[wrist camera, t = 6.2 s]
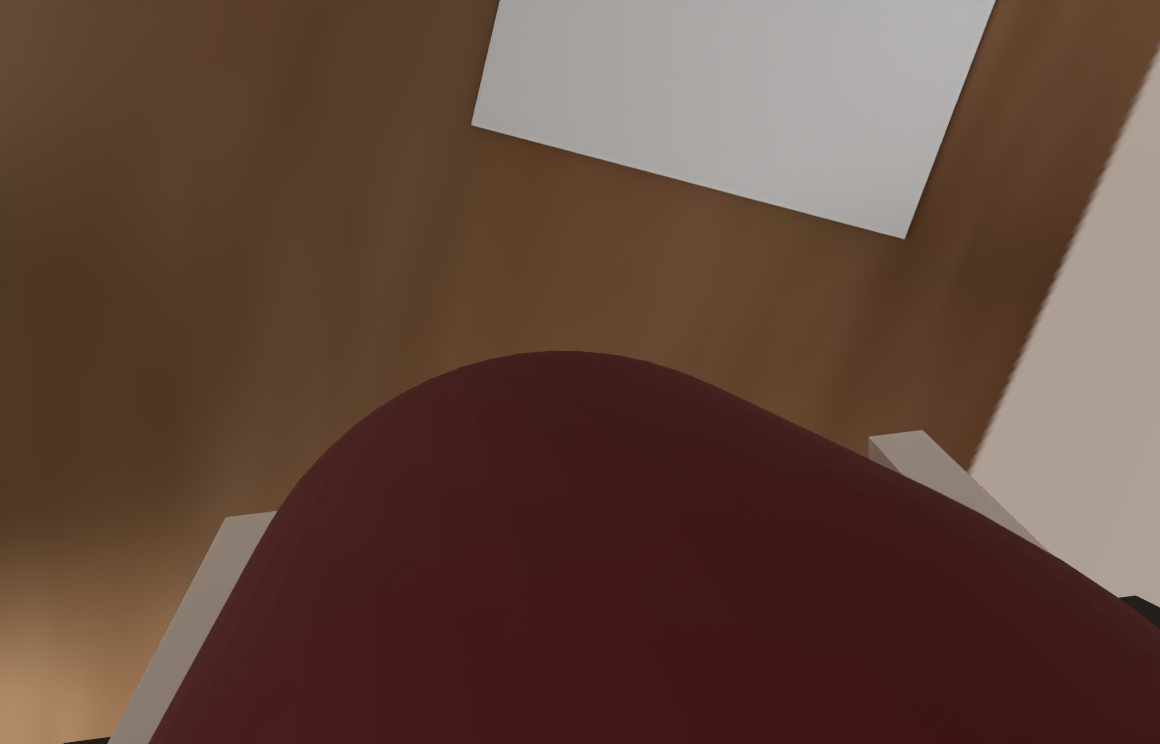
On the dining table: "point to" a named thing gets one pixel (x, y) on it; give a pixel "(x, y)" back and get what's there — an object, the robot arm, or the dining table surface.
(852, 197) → the paper
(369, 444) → the mug
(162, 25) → the dining table surface
